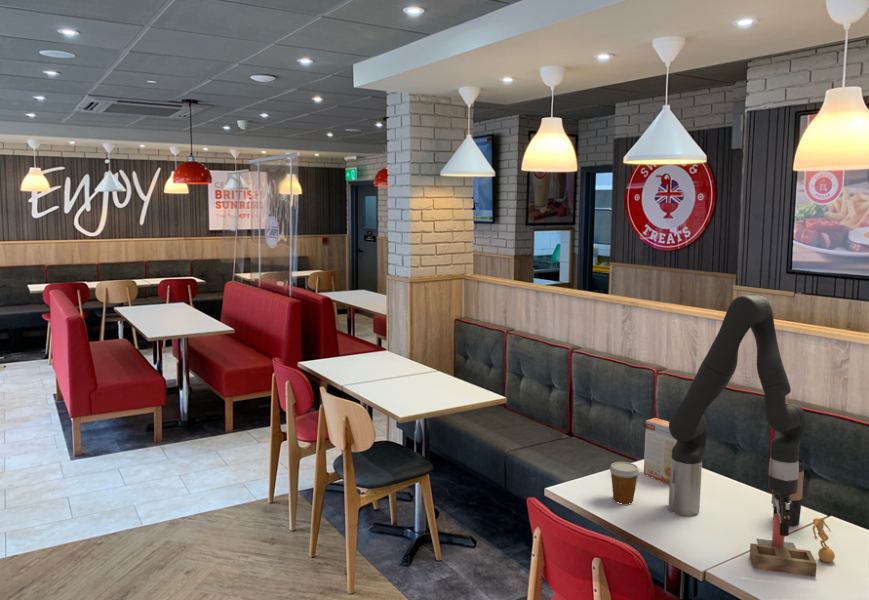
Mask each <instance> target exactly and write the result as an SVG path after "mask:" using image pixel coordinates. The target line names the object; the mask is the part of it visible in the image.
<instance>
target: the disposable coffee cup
mask: <svg viewBox="0 0 869 600" xmlns="http://www.w3.org/2000/svg"><path fill="white" fill-rule="evenodd" d="M609 471H610V473H611V474H610V477H611V488H612V499H614V500H615V501H616V502H619V503H622V504H629V503H632V502H634V497H635V493H636V486H637V481H638V476H639V474H640V469H639V467H638V465H637V464H634V463H631V462H627V461H616V462H613V463H611V464H610V467H609ZM614 500H613V501H614ZM615 501H614V502H615ZM616 502H615V503H616ZM622 504H621V505H622ZM632 504H633V503H632ZM629 505H630V504H629Z"/></svg>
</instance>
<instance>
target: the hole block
mask: <svg viewBox="0 0 869 600" xmlns="http://www.w3.org/2000/svg"><path fill="white" fill-rule="evenodd" d="M749 544H750V545H749V548H750V549H749V559H750V561H751V564H752V567H753V569H755V570H764V571H771V572H776V573H777V572H779V573H784V574H791V575H792V574H793V575H801V576H806V577H807V576H808V577H814V578H815V577H816V576H817V564H818V563H817V561H816V559H815V557H814V555H813V553H812V551H811V550H806V549H802V548H801V549H800V548H796V549H792V548H784V547H776V546H768V545H760V544H758V543H749Z"/></svg>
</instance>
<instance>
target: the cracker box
mask: <svg viewBox="0 0 869 600" xmlns="http://www.w3.org/2000/svg"><path fill="white" fill-rule="evenodd" d="M644 434H645V435H644V436H645V437H644V457H643V458H644V459H643V475H644V474H645V475H644V476H646V475H648V476H647V477H649V476H650V477H649V478H651V477H653V478H652V479H654V478H655V480H657V481H659V480H660V481H659V482H662V483H664V482H665V484H667V485H670V477H671V456H672V449H673V447H674V446H675V444H676V442H677V440H676V439H674V438H673V437H672V435H671V433H670V431H669V421H668V420H665V419H662V418H661V419H660V418H658V417H652V418H650V419H646V420H645V433H644Z"/></svg>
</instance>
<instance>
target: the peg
mask: <svg viewBox="0 0 869 600" xmlns="http://www.w3.org/2000/svg"><path fill="white" fill-rule="evenodd" d="M784 519H786V516H784ZM772 521H773V520H772ZM772 525H773V526H772V539H771V540H772V546H776V547H783V546H784V542H785V536H781V535H780V533H779V531H780V516H779V514H774V521H773V522H772Z"/></svg>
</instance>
